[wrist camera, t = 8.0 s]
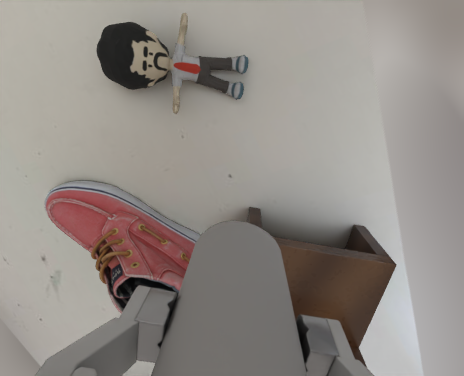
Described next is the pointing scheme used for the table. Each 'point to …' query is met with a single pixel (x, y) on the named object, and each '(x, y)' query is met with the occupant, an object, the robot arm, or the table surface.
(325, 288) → the miniature wooden chair
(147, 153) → the table surface
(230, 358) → the beverage can
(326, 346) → the robot arm
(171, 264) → the boot
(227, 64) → the figurine
